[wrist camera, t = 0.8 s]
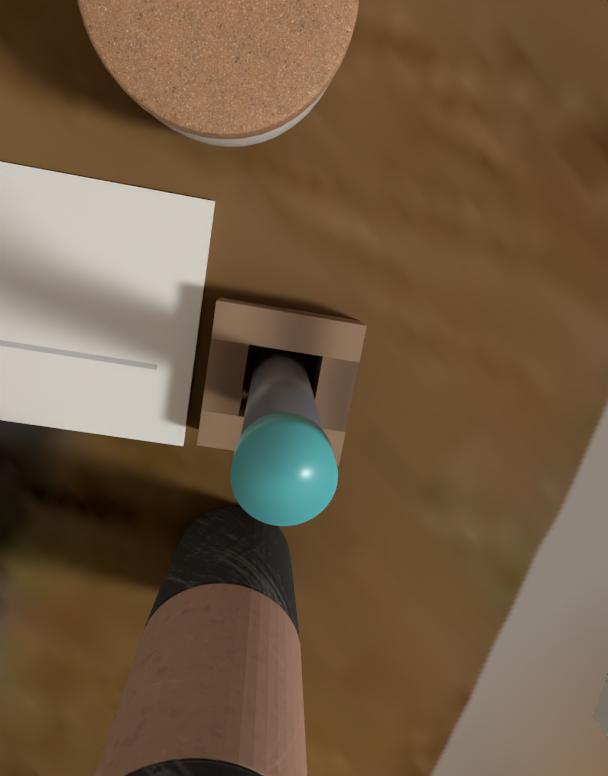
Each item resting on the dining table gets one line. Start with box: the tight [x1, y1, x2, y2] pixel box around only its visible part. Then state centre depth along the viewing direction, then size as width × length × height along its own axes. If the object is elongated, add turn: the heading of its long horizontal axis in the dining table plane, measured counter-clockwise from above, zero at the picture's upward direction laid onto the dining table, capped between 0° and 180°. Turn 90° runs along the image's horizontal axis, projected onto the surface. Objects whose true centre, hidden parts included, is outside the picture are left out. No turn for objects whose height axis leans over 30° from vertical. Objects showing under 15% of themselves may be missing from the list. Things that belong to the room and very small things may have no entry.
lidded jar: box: [77, 0, 359, 147], centre depth 23 cm, size 11×11×9 cm
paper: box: [0, 162, 215, 446], centre depth 30 cm, size 20×14×1 cm
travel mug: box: [95, 507, 307, 776], centre depth 24 cm, size 8×8×20 cm
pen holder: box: [197, 297, 367, 466], centre depth 30 cm, size 8×8×2 cm
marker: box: [230, 353, 338, 526], centre depth 24 cm, size 3×3×15 cm
